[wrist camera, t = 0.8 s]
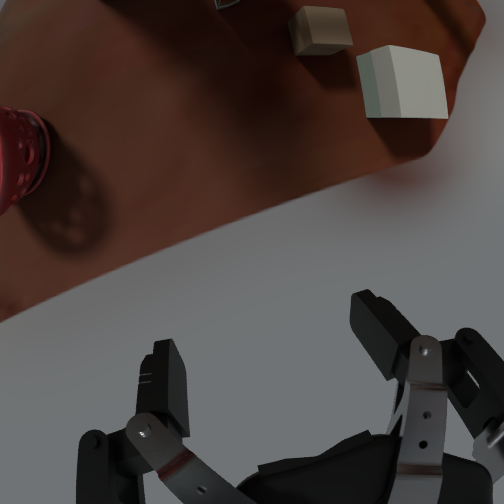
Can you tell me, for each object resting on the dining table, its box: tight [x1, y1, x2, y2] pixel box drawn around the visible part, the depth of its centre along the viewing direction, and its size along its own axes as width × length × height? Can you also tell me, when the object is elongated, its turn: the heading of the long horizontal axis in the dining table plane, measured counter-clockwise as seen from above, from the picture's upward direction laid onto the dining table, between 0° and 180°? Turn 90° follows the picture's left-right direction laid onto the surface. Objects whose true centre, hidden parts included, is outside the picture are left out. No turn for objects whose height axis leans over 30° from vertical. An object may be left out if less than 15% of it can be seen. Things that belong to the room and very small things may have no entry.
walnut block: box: [287, 6, 353, 56], centre depth 24 cm, size 5×5×6 cm
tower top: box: [370, 45, 448, 119], centre depth 26 cm, size 9×9×4 cm
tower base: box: [356, 52, 401, 118], centre depth 29 cm, size 9×9×4 cm
